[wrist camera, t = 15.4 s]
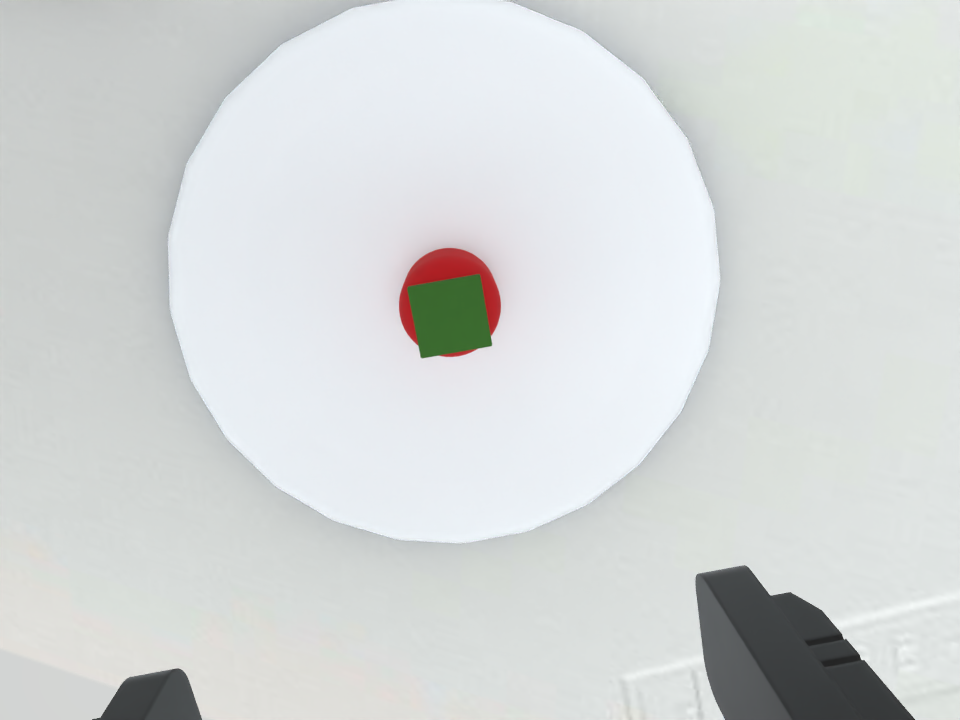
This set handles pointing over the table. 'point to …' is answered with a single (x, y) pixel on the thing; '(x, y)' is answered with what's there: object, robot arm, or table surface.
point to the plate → (431, 226)
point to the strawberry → (449, 303)
